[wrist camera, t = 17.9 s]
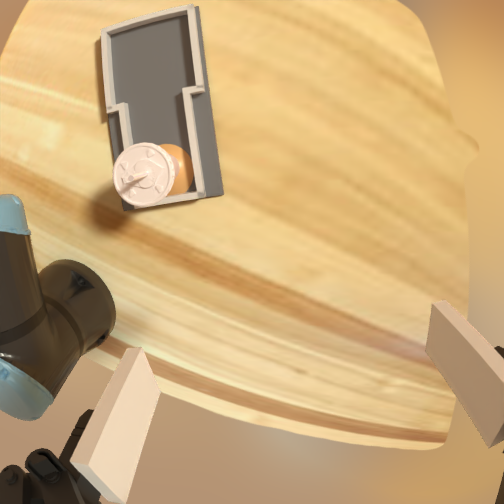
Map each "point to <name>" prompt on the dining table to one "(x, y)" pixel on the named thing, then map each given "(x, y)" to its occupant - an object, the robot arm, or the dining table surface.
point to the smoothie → (144, 174)
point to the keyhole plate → (163, 96)
